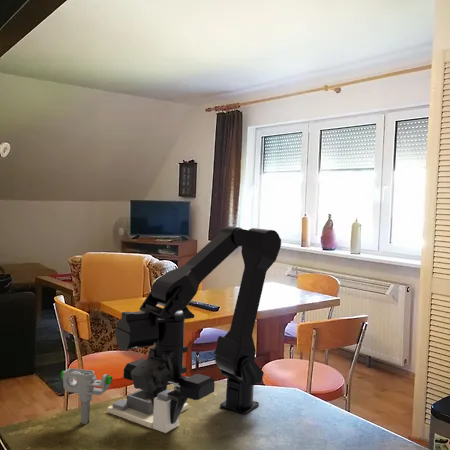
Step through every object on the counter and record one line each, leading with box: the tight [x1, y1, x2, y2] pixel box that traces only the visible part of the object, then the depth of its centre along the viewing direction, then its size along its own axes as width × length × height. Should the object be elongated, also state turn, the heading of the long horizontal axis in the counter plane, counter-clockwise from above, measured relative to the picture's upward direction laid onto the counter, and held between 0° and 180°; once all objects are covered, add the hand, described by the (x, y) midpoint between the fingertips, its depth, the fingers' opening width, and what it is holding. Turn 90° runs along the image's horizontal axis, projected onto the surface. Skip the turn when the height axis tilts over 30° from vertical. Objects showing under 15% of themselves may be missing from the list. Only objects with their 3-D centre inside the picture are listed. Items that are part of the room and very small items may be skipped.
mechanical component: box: [60, 367, 113, 425], centre depth 100 cm, size 3×10×10 cm, turn 78°
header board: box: [107, 389, 190, 429], centre depth 107 cm, size 12×12×4 cm
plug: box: [152, 389, 180, 434], centre depth 99 cm, size 4×3×7 cm
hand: (166, 420), depth 99 cm, fingers closed on plug, 3 cm apart
